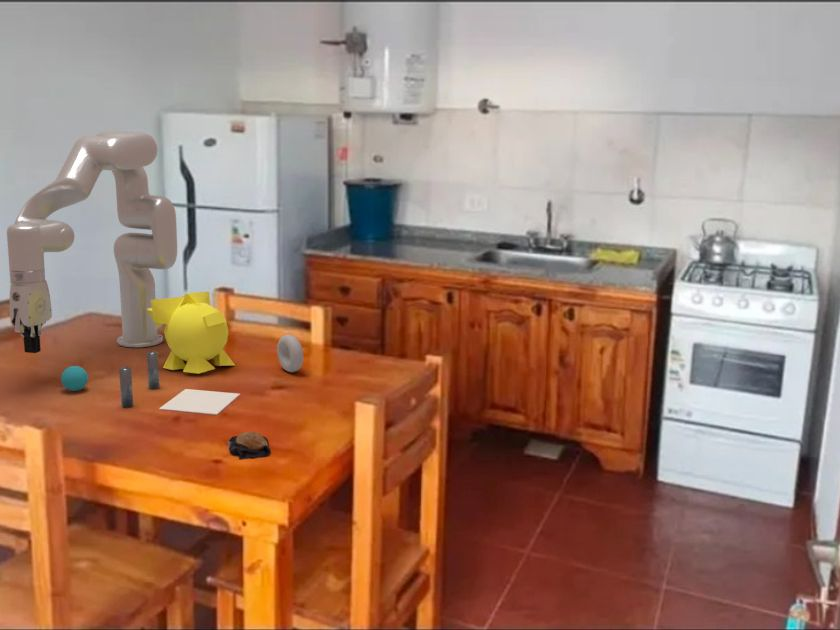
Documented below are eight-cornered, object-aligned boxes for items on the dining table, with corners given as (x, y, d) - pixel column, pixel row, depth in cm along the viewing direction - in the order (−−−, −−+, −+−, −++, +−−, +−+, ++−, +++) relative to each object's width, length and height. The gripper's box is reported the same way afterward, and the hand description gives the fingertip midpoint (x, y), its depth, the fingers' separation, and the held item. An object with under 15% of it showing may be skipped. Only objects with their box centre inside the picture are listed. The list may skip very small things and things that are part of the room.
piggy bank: (197, 351, 241) (195, 283, 237) (247, 364, 231) (245, 294, 226) (138, 368, 225) (134, 296, 221) (189, 383, 215) (186, 308, 210)
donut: (274, 368, 228) (274, 331, 226) (285, 365, 231) (285, 329, 228) (294, 377, 221) (294, 340, 219) (306, 375, 223) (306, 338, 221)
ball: (71, 385, 211) (69, 361, 209) (93, 387, 210) (92, 363, 208) (56, 393, 205) (54, 369, 203) (80, 395, 204) (78, 371, 202)
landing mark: (185, 389, 210) (185, 388, 210) (240, 394, 208) (240, 393, 208) (158, 409, 197) (158, 408, 196) (216, 414, 194) (216, 414, 194)
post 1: (125, 403, 200) (122, 366, 197) (135, 404, 199) (133, 367, 197) (119, 407, 197) (117, 369, 195) (129, 408, 197) (127, 370, 195)
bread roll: (224, 444, 180) (224, 427, 179) (264, 439, 183) (264, 422, 182) (233, 464, 170) (232, 446, 170) (275, 458, 174) (275, 441, 173)
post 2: (151, 385, 212) (149, 350, 210) (161, 386, 212) (159, 351, 210) (146, 388, 210) (144, 353, 208) (156, 389, 209) (154, 354, 207)
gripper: (22, 283, 194) (27, 361, 198) (60, 272, 209) (64, 345, 213) (-8, 281, 195) (-2, 358, 199) (32, 270, 210) (37, 343, 214)
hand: (32, 351), depth 206 cm, fingers closed
